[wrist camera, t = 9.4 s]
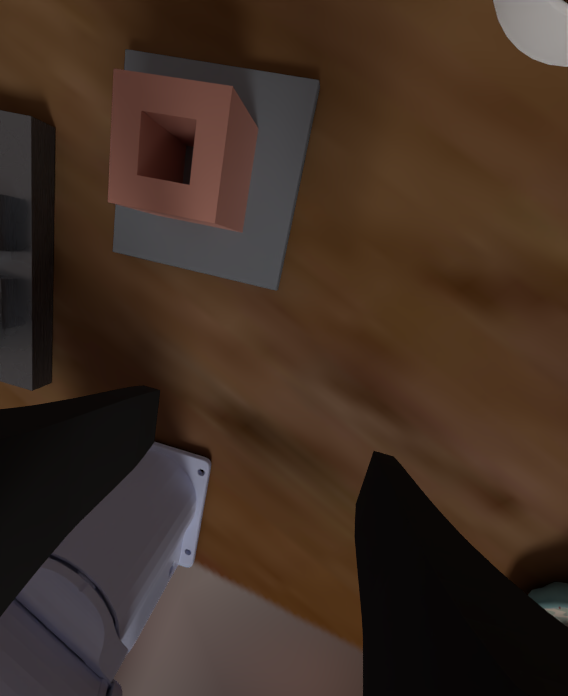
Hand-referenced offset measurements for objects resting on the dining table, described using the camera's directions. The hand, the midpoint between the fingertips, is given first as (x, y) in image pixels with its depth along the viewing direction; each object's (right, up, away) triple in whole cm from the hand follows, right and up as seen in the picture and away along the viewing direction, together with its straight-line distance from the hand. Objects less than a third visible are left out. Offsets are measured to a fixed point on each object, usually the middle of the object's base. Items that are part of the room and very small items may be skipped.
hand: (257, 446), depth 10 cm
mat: (-3, +12, +7) cm, 15 cm away
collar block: (-3, +12, +7) cm, 14 cm away
